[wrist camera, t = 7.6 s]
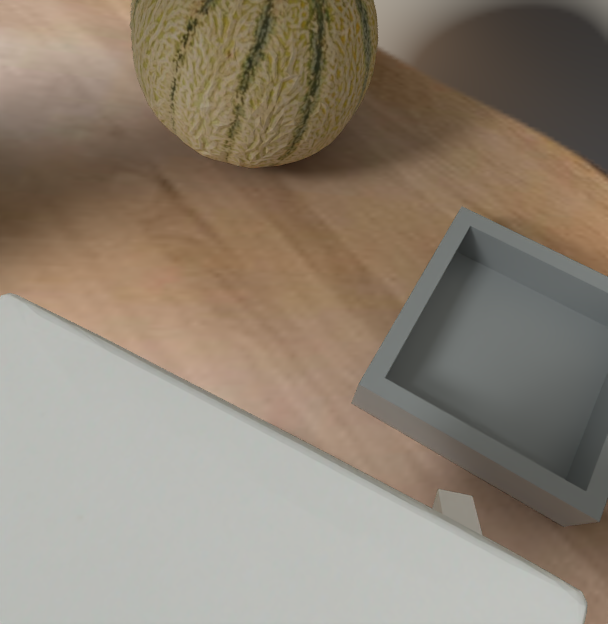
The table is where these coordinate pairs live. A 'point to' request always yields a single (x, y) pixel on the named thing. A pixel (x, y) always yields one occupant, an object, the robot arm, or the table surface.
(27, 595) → the supplement box
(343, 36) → the cantaloupe
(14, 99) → the table surface
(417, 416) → the slate tray
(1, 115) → the table surface
